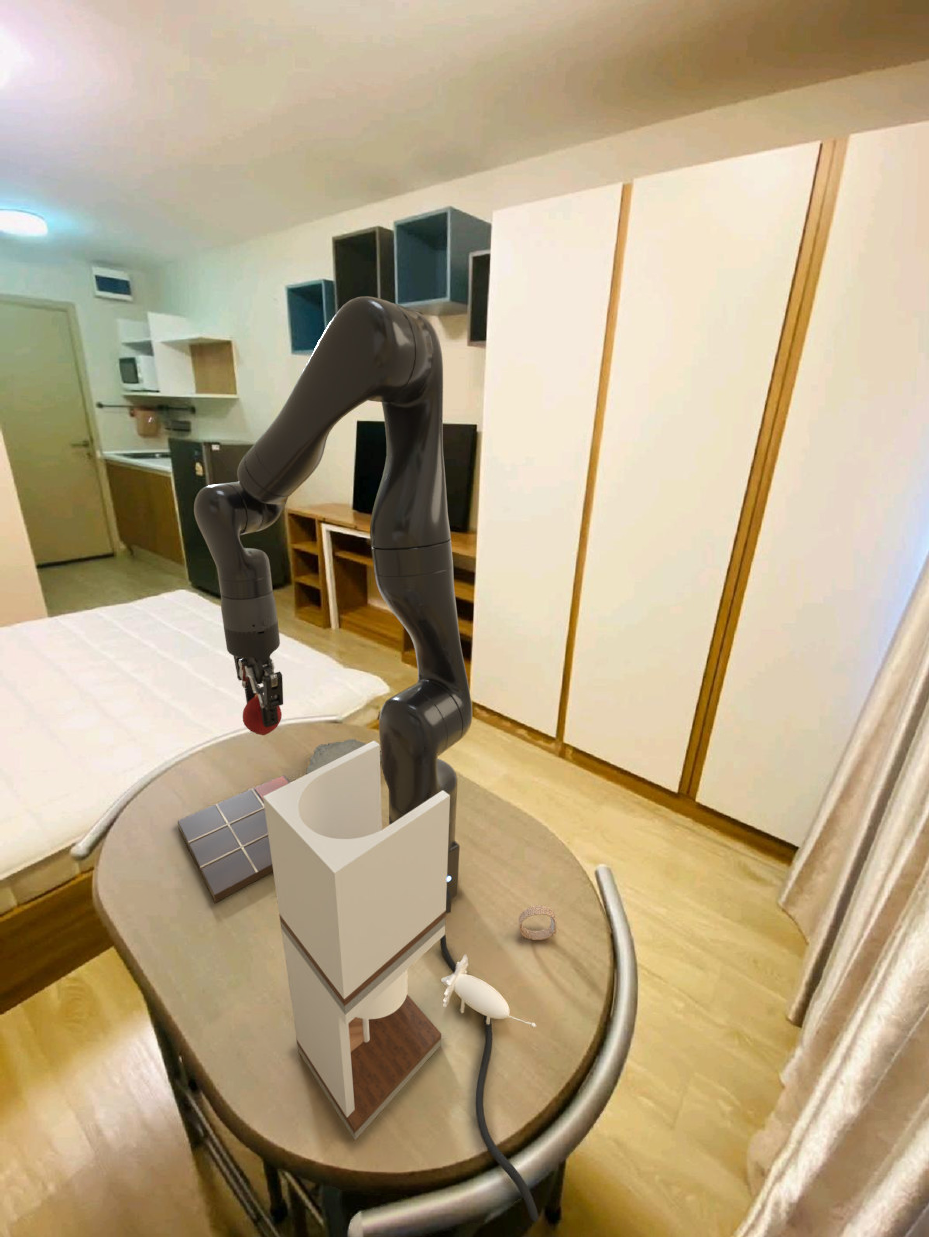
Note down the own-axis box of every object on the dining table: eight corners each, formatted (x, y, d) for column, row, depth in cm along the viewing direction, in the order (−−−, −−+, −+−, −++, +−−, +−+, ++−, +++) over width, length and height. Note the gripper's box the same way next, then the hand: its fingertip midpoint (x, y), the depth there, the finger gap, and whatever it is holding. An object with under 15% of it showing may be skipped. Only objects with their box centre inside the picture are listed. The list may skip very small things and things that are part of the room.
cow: (430, 1007, 61) (431, 981, 59) (454, 969, 65) (455, 943, 64) (523, 1071, 56) (527, 1044, 54) (542, 1025, 60) (547, 998, 58)
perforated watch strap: (554, 945, 69) (558, 918, 67) (518, 944, 69) (521, 918, 67) (551, 926, 71) (554, 900, 69) (516, 925, 71) (519, 899, 69)
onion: (287, 724, 88) (283, 683, 85) (277, 745, 82) (272, 701, 79) (252, 723, 87) (246, 682, 84) (240, 744, 82) (233, 701, 79)
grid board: (332, 839, 84) (331, 831, 83) (215, 903, 73) (213, 894, 72) (284, 781, 96) (283, 773, 95) (178, 827, 85) (176, 819, 84)
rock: (282, 776, 97) (280, 755, 95) (349, 739, 109) (349, 720, 107) (322, 806, 90) (321, 784, 89) (389, 763, 102) (389, 743, 101)
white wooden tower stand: (355, 1140, 50) (334, 873, 37) (297, 1050, 57) (263, 796, 43) (440, 1045, 58) (449, 795, 44) (381, 975, 64) (374, 740, 51)
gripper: (208, 610, 80) (223, 704, 86) (243, 642, 70) (257, 746, 76) (256, 600, 84) (267, 690, 91) (296, 629, 75) (304, 727, 81)
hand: (262, 715), depth 84 cm, fingers closed on onion, 6 cm apart
